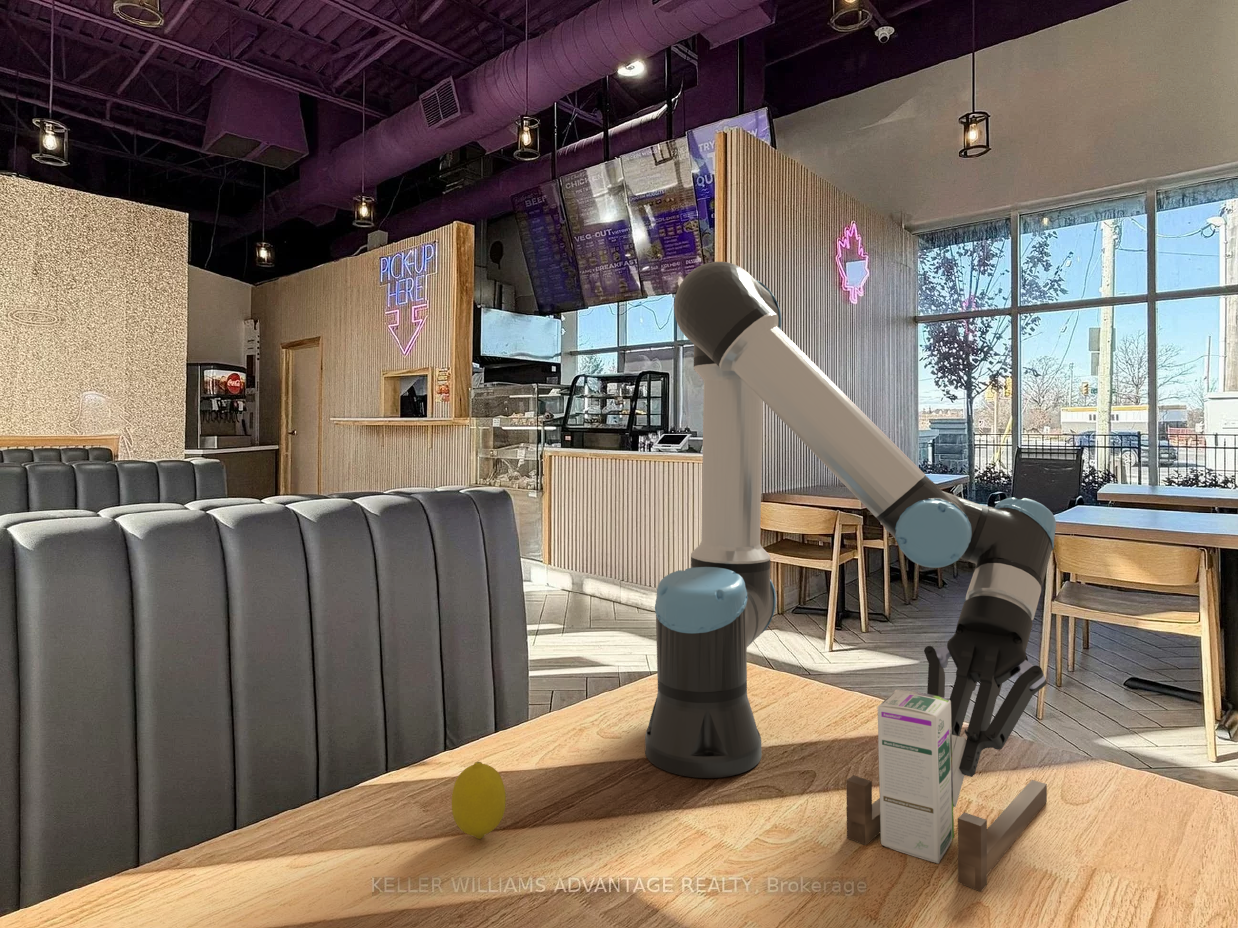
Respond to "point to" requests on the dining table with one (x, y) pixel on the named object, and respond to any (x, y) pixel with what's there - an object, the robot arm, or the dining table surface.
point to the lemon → (478, 800)
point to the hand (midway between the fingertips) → (944, 798)
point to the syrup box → (916, 774)
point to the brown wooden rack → (974, 839)
